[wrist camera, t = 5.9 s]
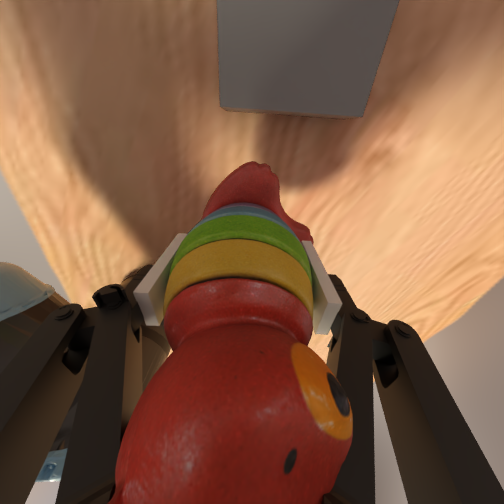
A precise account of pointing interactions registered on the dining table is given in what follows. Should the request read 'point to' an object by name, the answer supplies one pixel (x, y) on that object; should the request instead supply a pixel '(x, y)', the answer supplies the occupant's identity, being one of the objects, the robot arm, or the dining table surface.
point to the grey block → (301, 55)
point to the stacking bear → (238, 367)
